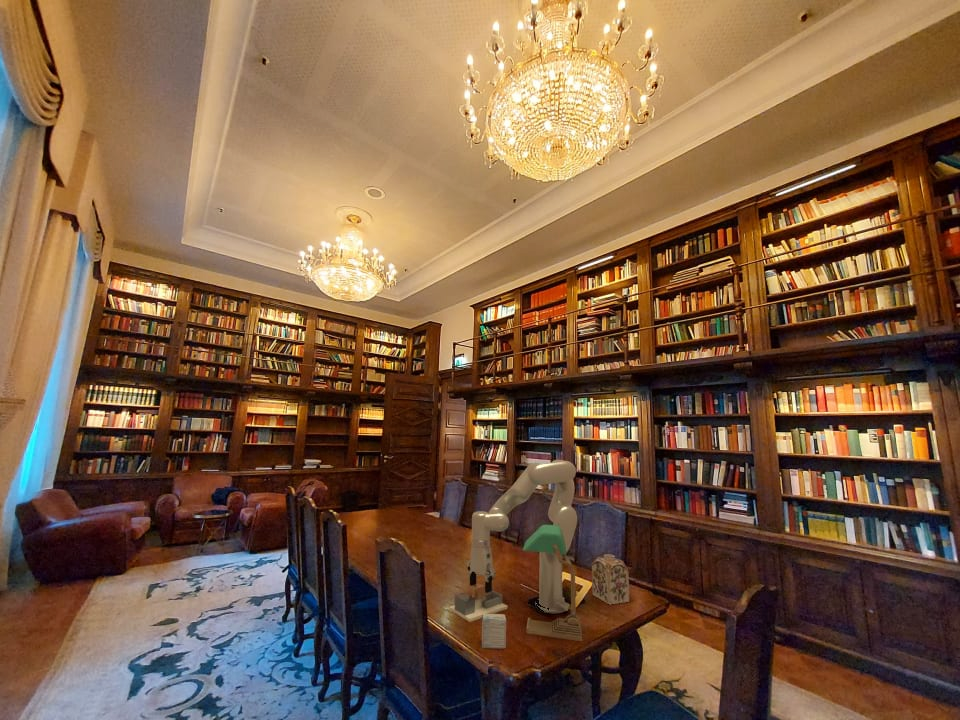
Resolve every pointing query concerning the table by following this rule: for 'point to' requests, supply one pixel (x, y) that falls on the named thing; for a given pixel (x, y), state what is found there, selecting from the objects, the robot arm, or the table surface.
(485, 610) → the board
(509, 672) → the table surface
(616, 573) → the decorative jar
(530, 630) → the banker's lamp
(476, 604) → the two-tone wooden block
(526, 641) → the table surface
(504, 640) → the medicine box
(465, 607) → the socket
